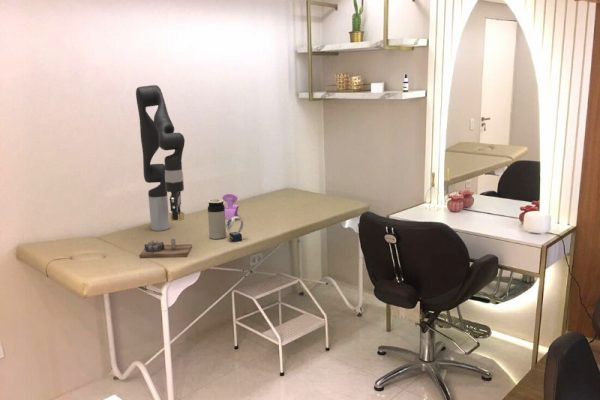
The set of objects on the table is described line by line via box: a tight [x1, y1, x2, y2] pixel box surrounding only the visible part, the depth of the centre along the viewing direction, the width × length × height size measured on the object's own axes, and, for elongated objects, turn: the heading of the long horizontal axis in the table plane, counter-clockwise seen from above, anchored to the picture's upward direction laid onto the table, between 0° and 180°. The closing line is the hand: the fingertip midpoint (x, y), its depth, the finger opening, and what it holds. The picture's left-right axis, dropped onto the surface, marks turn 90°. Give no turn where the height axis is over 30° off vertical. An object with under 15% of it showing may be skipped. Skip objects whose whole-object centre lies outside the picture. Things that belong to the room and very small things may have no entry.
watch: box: [226, 217, 245, 243], centre depth 249 cm, size 6×8×11 cm
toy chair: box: [221, 192, 239, 220], centre depth 286 cm, size 8×9×15 cm
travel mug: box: [207, 198, 227, 240], centre depth 254 cm, size 8×8×18 cm
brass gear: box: [169, 211, 186, 223], centre depth 231 cm, size 6×6×3 cm
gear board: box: [139, 237, 193, 259], centre depth 233 cm, size 13×20×6 cm, turn 93°
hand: (176, 217), depth 231 cm, fingers closed on brass gear, 6 cm apart
